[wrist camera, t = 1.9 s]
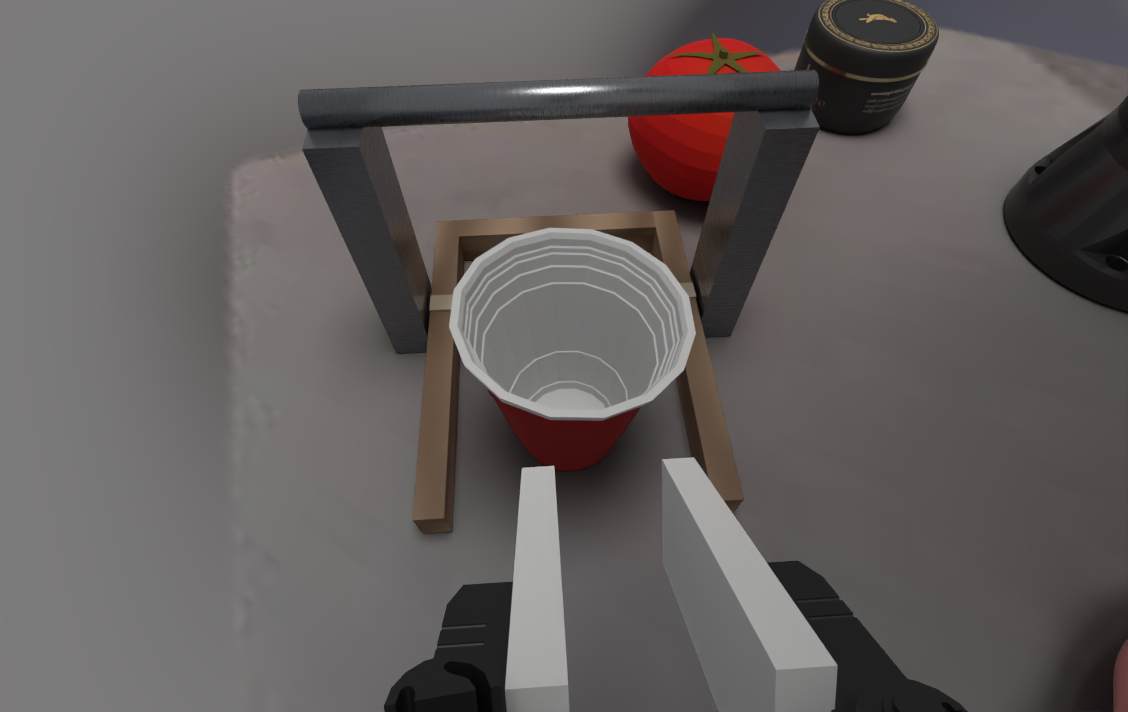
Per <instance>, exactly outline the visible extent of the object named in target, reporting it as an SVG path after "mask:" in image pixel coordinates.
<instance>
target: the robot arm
mask: <svg viewBox="0 0 1128 712" xmlns="http://www.w3.org/2000/svg"><path fill="white" fill-rule="evenodd" d="M1004 214H1005V220H1006V223H1007V226H1008V229H1009V231H1010V233H1011V235H1012V237H1013V238H1014V240H1015V242H1016V243H1017V244H1018V246H1019V247H1020V248H1021V249H1022V251H1023V252H1024V253H1025V254H1026V255H1027V256H1028V257H1029V258H1030V259H1031V260H1032V261H1033V262H1034V263H1035V264H1036V265H1037V266H1038V267H1040V268H1041V269H1042V270H1043V271H1044V272H1046V273H1047V274H1048V275H1050V276H1051V277H1053V278H1054V279H1055V280H1057V281H1059V282H1060V283H1062V284H1063V285H1065V286H1067V287H1068V288H1070V289H1072V290H1074V291H1076V292H1078V293H1079V294H1082V295H1084V296H1086V297H1088V298H1090V299H1092V300H1095V301H1097V302H1100V303H1102V304H1105V305H1108V306H1111V307H1114V308H1117V309H1120V310H1124V311H1128V96H1127V97H1126V98H1125V100H1124V101H1123V102H1122V103H1121V104H1120V105H1119V106H1118V107H1117V108H1116V109H1115V110H1114V111H1112V112H1111V113H1110V114H1109V115H1107V116H1106V117H1104V118H1103V119H1101V120H1100V121H1098V122H1096V123H1095V124H1093V125H1092V126H1090V127H1089V128H1087V129H1086V130H1084V131H1083V132H1081V133H1080V134H1078V135H1077V136H1075V137H1074V138H1072V139H1071V140H1069V141H1068V142H1066V143H1065V144H1063V145H1062V146H1060V147H1059V148H1057V149H1056V150H1054V151H1053V152H1051V153H1050V154H1049V155H1047V156H1045V157H1043V158H1042V159H1041V160H1039V161H1038V162H1036V163H1035V164H1034V165H1033V166H1032V167H1031V168H1030V169H1029V170H1028V171H1027V172H1026V173H1025V174H1024V175H1023V177H1022V178H1021V179H1020V180H1019V181H1018V182H1017V184H1016V185H1015V186H1014V187H1013V188H1012V190H1011V191H1010V192H1009V194H1008V196H1007V198H1006V201H1005V206H1004ZM662 519H663V565H664V568H665V570H666V573H667V576H668V578H669V581H670V584H671V586H672V589H673V592H674V594H675V597H676V600H677V602H678V605H679V608H680V610H681V613H682V616H683V618H684V621H685V624H686V626H687V629H688V632H689V634H690V637H691V640H692V642H693V645H694V648H695V650H696V653H697V656H698V658H699V661H700V664H701V666H702V669H703V672H704V674H705V677H706V680H707V682H708V685H709V688H710V690H711V693H712V696H713V698H714V701H715V704H716V706H717V709H718V712H967V711H966V710H965V709H964V708H963V707H962V705H961V704H960V703H958V702H956V701H955V700H953V699H952V698H950V697H949V696H947V695H946V694H944V693H942V692H941V691H939V690H938V689H935V688H933V687H930V686H927V685H925V684H922V683H920V682H917V681H915V680H909V679H907V678H906V677H905V676H904V674H903V673H902V672H901V671H900V670H899V668H898V667H897V666H896V665H895V664H894V662H893V661H892V660H891V659H890V658H889V656H888V655H887V654H886V653H885V651H884V650H883V649H882V648H881V647H880V645H879V644H878V643H877V642H876V641H875V639H874V638H873V637H872V636H871V635H870V633H869V632H868V631H867V630H866V628H865V627H864V626H863V625H862V624H861V622H860V621H859V620H858V619H857V618H856V617H855V618H854V617H853V613H852V612H851V610H850V609H849V608H848V607H847V605H846V604H845V603H844V602H843V601H842V600H840V599H839V596H838V595H837V593H836V592H835V591H834V590H833V589H832V587H831V586H830V585H829V584H828V583H827V581H826V580H825V579H824V578H823V577H822V576H821V575H819V574H818V573H816V572H815V571H813V570H811V569H810V568H808V567H807V566H805V565H804V564H802V563H801V562H799V561H786V562H771V563H766V561H765V560H764V558H763V557H762V555H761V554H760V552H759V551H758V549H757V548H756V547H755V545H754V544H753V542H752V541H751V539H750V538H749V536H748V535H747V534H746V532H745V531H744V529H743V528H742V526H741V525H740V523H739V522H738V521H737V519H736V518H735V516H734V515H733V513H732V512H731V510H730V509H729V508H728V506H727V505H726V503H725V502H724V500H723V499H722V497H721V496H720V495H719V493H718V492H717V490H716V489H715V487H714V486H713V484H712V483H711V481H710V480H709V479H708V477H707V476H706V474H705V473H704V471H703V470H702V468H701V467H700V466H699V464H698V463H697V461H696V460H695V458H694V457H692V458H675V459H662ZM384 710H385V712H570V711H569V692H568V675H567V659H566V643H565V627H564V611H563V596H562V580H561V564H560V548H559V532H558V516H557V500H556V485H555V469H554V466H543V467H526V468H522V473H521V486H520V499H519V512H518V525H517V538H516V551H515V564H514V577H513V582H502V583H487V584H472V585H463V586H462V587H461V589H460V590H459V591H458V592H457V593H456V594H455V596H454V597H453V598H452V599H451V600H450V602H449V603H448V604H447V607H446V611H445V615H444V619H443V623H442V630H441V631H440V635H439V639H438V643H437V649H436V651H435V655H434V658H433V659H430V660H426V661H424V662H422V663H420V664H419V665H417V666H416V667H414V668H412V669H411V670H409V671H407V672H406V673H405V674H404V675H403V676H402V677H401V678H400V679H399V680H398V681H397V682H396V684H395V685H394V686H393V687H392V688H391V690H390V693H389V695H388V697H387V700H386V702H385V705H384ZM1073 712H1103V711H1099V710H1075V711H1073Z"/></svg>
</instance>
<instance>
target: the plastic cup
mask: <svg viewBox="0 0 1128 712" xmlns="http://www.w3.org/2000/svg"><path fill="white" fill-rule="evenodd" d="M449 328H450V331H451V333H452V336H453V338H454V341H455V343H456V346H457V348H458V351H459V353H460V356H461V358H462V361H463V363H464V366H465V367H466V369H467V370H468V371H469V372H470V373H471V374H472V375H473V376H474V377H475V378H476V379H478V380H479V381H480V382H481V383H482V384H483V385H484V386H485V387H486V388H487V389H488V392H489V394H490V395H491V396H492V397H493V398H494V399H495V401H496V402H497V404H498V406H499V408H500V409H501V411H502V413H503V415H504V416H505V418H506V420H507V422H508V423H509V425H510V427H511V429H512V430H513V432H514V434H515V435H516V436H517V437H518V438H519V439H520V441H521V442H522V444H523V446H524V447H525V449H526V450H527V451H528V452H529V453H530V454H531V455H532V456H533V457H534V458H535V459H536V460H537V461H538V462H540V463H541V464H543V465H545V466H554V469H556V470H559V471H579V470H581V469H584V468H586V467H589V466H591V465H593V464H596V463H597V462H599V461H600V460H601V459H602V458H603V457H604V456H605V455H606V454H607V453H608V452H609V451H610V450H611V449H612V447H613V446H614V444H615V443H616V441H617V439H618V438H619V437H620V436H621V435H622V434H623V433H624V431H625V430H626V428H627V427H628V425H629V424H630V422H631V421H632V419H633V418H634V416H635V415H636V413H637V412H638V410H639V409H640V407H641V406H644V405H647V404H649V403H650V402H651V401H652V400H653V399H654V398H655V397H656V396H657V395H658V394H660V393H661V392H662V391H663V390H664V389H665V388H666V387H667V386H668V385H669V384H670V383H671V382H672V381H673V380H674V379H675V378H676V377H677V376H678V375H679V374H680V373H681V372H682V371H684V368H685V365H686V362H687V359H688V356H689V353H690V350H691V347H692V344H693V341H694V338H695V335H696V331H695V326H694V321H693V315H692V310H691V305H690V300H689V296H688V295H687V293H686V292H685V290H684V289H683V288H682V286H681V285H680V284H679V282H678V281H677V279H676V278H675V277H674V275H673V274H672V272H671V271H670V270H669V268H668V267H667V266H666V265H665V264H664V263H662V262H661V261H659V260H658V259H657V258H655V257H654V256H652V255H651V254H649V253H648V252H646V251H645V250H643V249H642V248H640V247H639V246H637V245H636V244H634V243H633V242H631V241H628V240H624V239H621V238H618V237H615V236H612V235H609V234H605V233H602V232H599V231H596V230H593V229H571V228H546V229H542V230H538V231H534V232H530V233H526V234H522V235H518V236H514V237H510V238H508V239H506V240H504V241H503V242H501V243H500V244H498V245H496V246H495V247H493V248H492V249H490V250H489V251H487V252H485V253H484V254H482V255H481V256H479V257H478V258H476V259H475V260H474V261H473V263H472V264H471V266H470V267H469V269H468V270H467V272H466V273H465V274H464V276H463V277H462V279H461V280H460V282H459V283H458V284H457V286H456V287H455V289H454V292H453V300H452V307H451V315H450V323H449Z"/></svg>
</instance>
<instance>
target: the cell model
mask: <svg viewBox="0 0 1128 712" xmlns="http://www.w3.org/2000/svg"><path fill="white" fill-rule="evenodd" d="M1113 712H1128V638H1127V639H1126V641H1125V642H1124V643H1123V645H1122V647H1121V649H1120V651H1119V653H1118V655H1117V656H1116V661H1115V666H1114V671H1113Z"/></svg>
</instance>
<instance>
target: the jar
mask: <svg viewBox="0 0 1128 712" xmlns="http://www.w3.org/2000/svg"><path fill="white" fill-rule="evenodd" d="M938 37H939V30H938V27H937V24H936V23H935V21H934V20H933V18H932V17H931V16H930V15H929V14H928V13H926V12H925V11H924V10H922V9H920V8H919V7H917V6H915V5H913V4H911V3H909V2H907V1H904V0H826V1H825V2H823V3H822V4H821V5H820V6H819V7H818V8H817V10H816V12H815V13H814V15H813V18H812V20H811V23H810V25H809V28H808V30H807V32H806V34H805V38H804V44H803V47H802V50H801V53H800V55H799V58H798V61H797V64H796V67H795V70H794V71H796V70H815V71H816V72H817V74H818V77H819V90H818V95H817V98H816V101H815V103H814V105H813V106H812V107H811V110H812V112H813V114H814V116H815V118H816V120H817V122H818V124H819V126H820V128H821V129H824V130H827V131H830V132H835V133H840V134H862V133H867V132H870V131H873V130H875V129H877V128H879V127H881V126H883V125H885V124H886V123H887V122H888V121H889V120H890V119H891V118H892V117H893V116H894V115H895V114H896V113H897V112H898V110H899V109H900V108H901V107H902V105H903V103H904V102H905V100H906V98H907V96H908V94H909V93H910V91H911V89H912V87H913V85H914V84H915V82H916V80H917V78H918V76H919V74H920V73H921V71H922V70H923V69H924V68H925V66H926V65H927V63H928V60H929V57H930V56H931V54H932V52H933V50H934V48H935V46H936V43H937V40H938Z"/></svg>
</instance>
